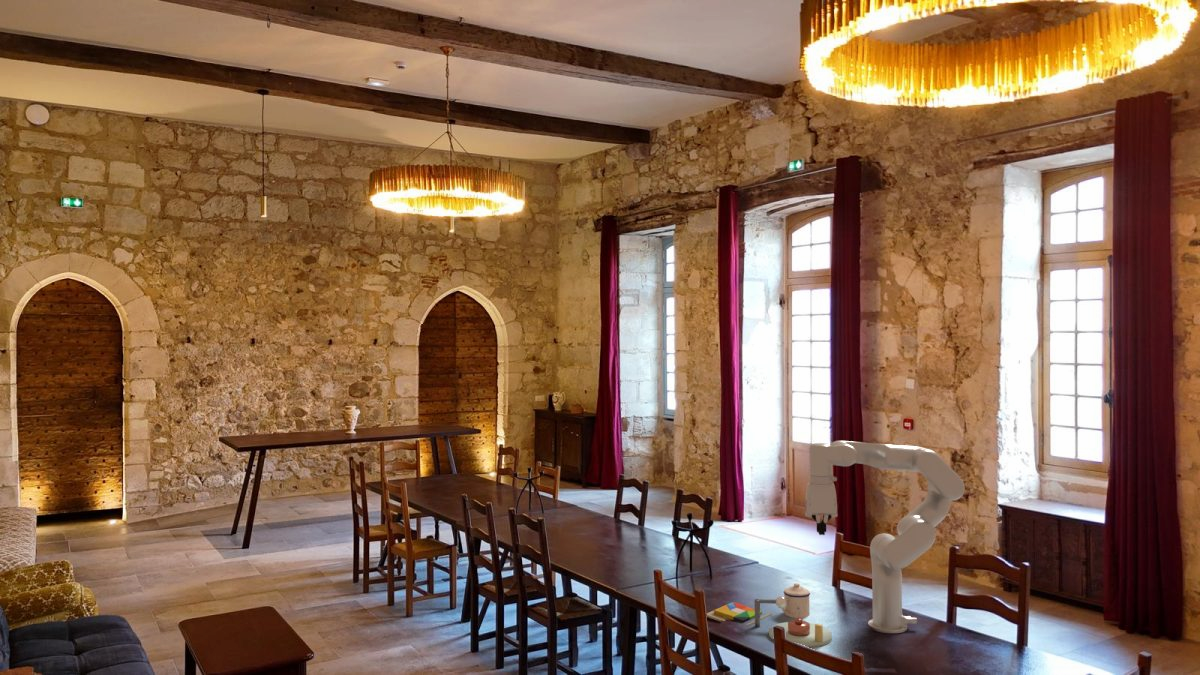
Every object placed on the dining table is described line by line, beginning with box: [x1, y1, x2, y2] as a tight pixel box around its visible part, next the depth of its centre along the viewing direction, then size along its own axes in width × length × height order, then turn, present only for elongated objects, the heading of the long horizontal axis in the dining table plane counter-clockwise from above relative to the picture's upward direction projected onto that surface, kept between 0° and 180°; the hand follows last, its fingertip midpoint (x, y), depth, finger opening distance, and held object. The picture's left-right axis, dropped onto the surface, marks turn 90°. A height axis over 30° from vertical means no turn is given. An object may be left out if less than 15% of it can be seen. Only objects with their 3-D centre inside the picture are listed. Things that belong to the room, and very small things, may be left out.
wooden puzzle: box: [706, 601, 772, 627], centre depth 305 cm, size 18×19×4 cm
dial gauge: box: [753, 596, 787, 628], centre depth 292 cm, size 12×5×11 cm, turn 85°
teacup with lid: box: [780, 582, 811, 619], centre depth 304 cm, size 12×9×12 cm
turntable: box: [768, 621, 833, 648], centre depth 282 cm, size 20×20×6 cm
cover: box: [787, 618, 810, 637], centre depth 282 cm, size 7×7×5 cm
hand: (821, 534), depth 292 cm, fingers closed
